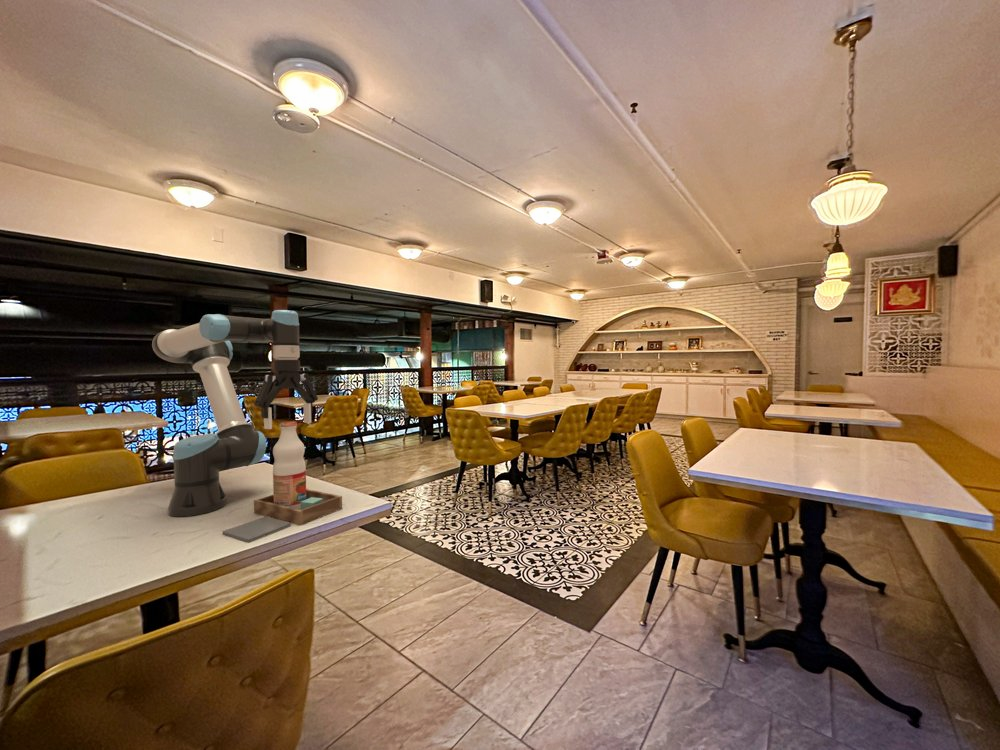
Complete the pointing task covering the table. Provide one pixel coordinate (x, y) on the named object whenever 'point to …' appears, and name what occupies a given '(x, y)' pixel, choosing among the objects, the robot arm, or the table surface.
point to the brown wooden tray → (295, 515)
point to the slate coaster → (256, 529)
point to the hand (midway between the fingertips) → (288, 425)
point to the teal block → (310, 502)
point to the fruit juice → (289, 468)
